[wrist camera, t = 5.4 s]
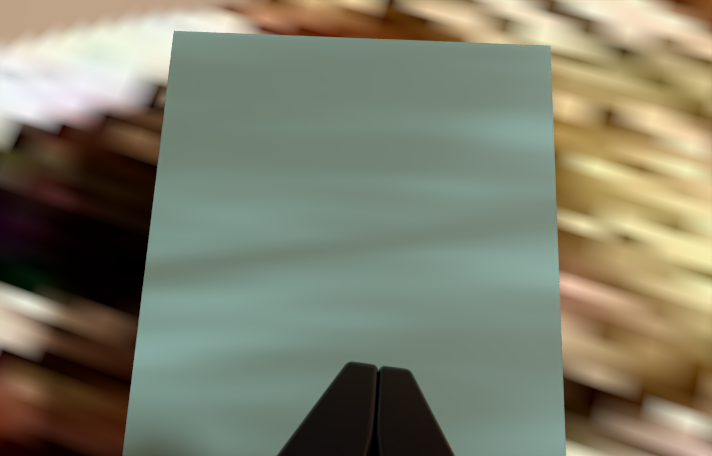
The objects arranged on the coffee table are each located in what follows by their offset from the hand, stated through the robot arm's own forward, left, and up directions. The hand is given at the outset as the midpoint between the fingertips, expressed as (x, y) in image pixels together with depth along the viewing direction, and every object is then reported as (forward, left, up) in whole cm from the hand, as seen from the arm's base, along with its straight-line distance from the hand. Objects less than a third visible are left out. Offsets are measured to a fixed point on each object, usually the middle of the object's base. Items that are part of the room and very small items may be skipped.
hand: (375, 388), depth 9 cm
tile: (-1, -1, -5) cm, 6 cm away
